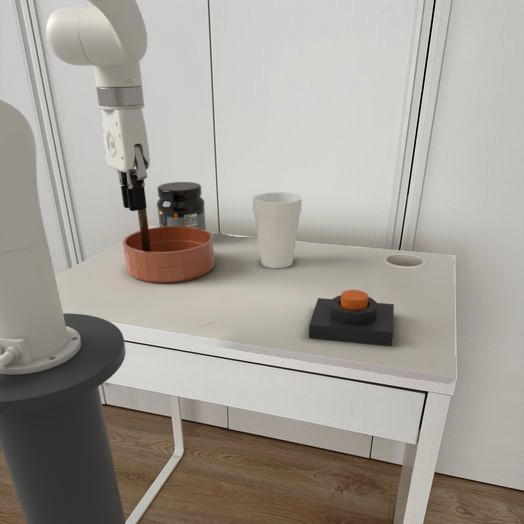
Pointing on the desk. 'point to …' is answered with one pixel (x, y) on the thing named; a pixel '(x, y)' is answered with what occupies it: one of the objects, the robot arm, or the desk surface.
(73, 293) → the desk surface
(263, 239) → the foam cup
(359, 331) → the black flat block
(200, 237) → the bowl
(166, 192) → the supplement container
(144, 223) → the flanged wooden peg
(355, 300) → the timer button
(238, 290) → the desk surface
